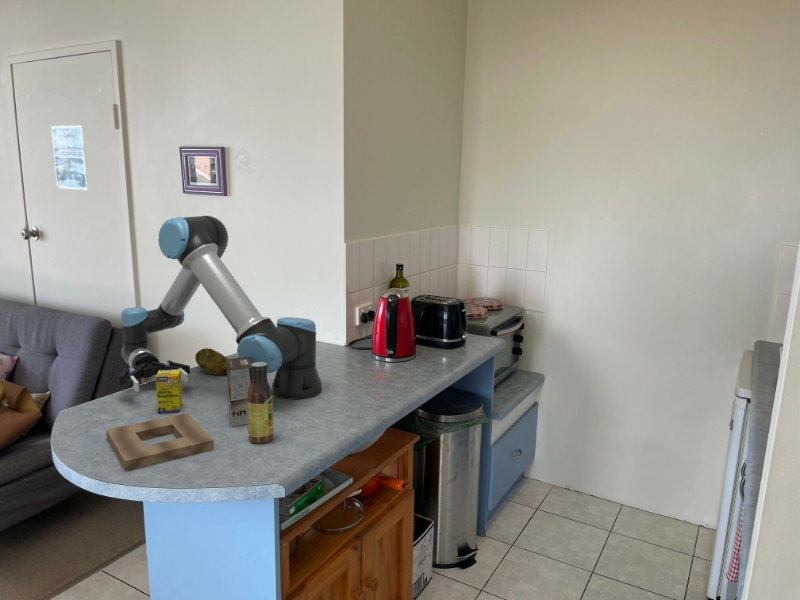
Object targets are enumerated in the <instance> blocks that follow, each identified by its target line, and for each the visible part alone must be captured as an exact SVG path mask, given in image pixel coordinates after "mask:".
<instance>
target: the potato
mask: <svg viewBox="0 0 800 600" xmlns="http://www.w3.org/2000/svg"><path fill="white" fill-rule="evenodd" d="M227 359H229V357H226V356H225V355H223V353H221V352H219V351H217V350H215V349H213V348H208V347H207V348H201V350H198V351H197V352H196V353H195V362H196V364H197V366H199V367H200V368H201V369H202V370H205V371H206V372H207V373H208V374H210V375H214V376H223V375H227Z"/></svg>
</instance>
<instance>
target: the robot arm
mask: <svg viewBox="0 0 800 600" xmlns="http://www.w3.org/2000/svg"><path fill="white" fill-rule="evenodd" d="M158 232H159V233H158V246H159V249H160V251H161V253H162V255H164V257H166V258H167V259H171V260H177V261H178V263H179V264H180V265H181V266H182V267H181V269H180V271H179V272H178V274H177V276H176V278H175V279H174V281H173V282H172V284H171V286H170V288H169V289H168V291H167V292H166V294H165V295H164V298H163V299H162V301H161V303H160V304H159V305H158V306H157V308H155V309H150V310H147V309H146V308H145V307H141V306H133V307H127V308H125V309H122V312H121V328H122V329H121V330H122V337H123V339H122V340H123V343H122V345H123V346H122V347H121V351H120V352H121V357H122V359H123V361H124V362H125V363H126V364H127V365H128V366H125V367H124V369H123V371H122V372H121V373H120V375H118V379H117V380H118V386H124V385H125V386H126V387H125V388H131V387H132V388H133V390H134V392H137V393H138V392H140V383H139V379H143V378H144V379H146V378H147V379H148V378H152V377H153V376H156V375H157V373H158V371H159V370H178V369H180V370H181V381H182V382H184V383H185V384H189V375H190V374H191V366H190V365H188V364H184V363H178V362H176V361H175V362H174V361H172V360H169V359H168V360H167V361H166V363H164V362H160V361H159V359H158V357H156V355H154V354H153V353H152V352H151V351H150V348H149V335H150V334H153V333H157V332H161V331H164V330H169V329H174V328H175V327H178V326H180V325H182V324H183V322H184V320H185V311H184V310H185V308H187V306H188V304H189V303H190V301H191V300H192V297H193V296H194V295H195V293H196V292H197V290H198V289H199V287H200V286H201V285H202V287H203V288H204V290H205V291H206V293H207V294H208V295H209V297H210V298H211V299H212V301H213V303H214V304H215V305H216V306H217V308H218V310H220V312H221V313H222V315H223V317H224V318H225V319H226V320H227V322H228V323H229V324H230V326H231V328H232V329H233V330H234V332H235V333H236V338H235V342H236V344H237V348H236V353H238V354H237V358H242V357H250V360H251V362H252V363H255V362H265V363H267V374H271V373H274V372H275V374H274V378H273V380H272V381H273V382H272V385H271V391H272V393H273V395H274V396H275V397H278V398H281V399H286V400H287V399H288V400H303V399H309V398H312V397H315V396H317V395H319V394H320V393H321V392H322V380H321V378H320V375H319V373H318V369H317V364H316V360H317V358H316V357H317V354H316V353H317V352H316V351H317V329H316V323H315V321H314V320H312V319H309V318H304V317H303V318H301V317H279V318H278V319H277V320H276V324H275V323H274V321H273V320H272V319H271V318H270V317H267V316H263V315H261V313H260V312H259V310H258V309H257V307H256V306H255V305H254V303H253V302H252V301H251V299H250V298H249V296H248V295H247V293H245V291H244V289H243V288H242V287H241V286H240V284H239V283H238V282H237V280H236V279H235V276H233V275H232V273H231V272H230V270H229V269H228V267H227V266H226V265H225V264H224V262H223V261H222V260H221V258H222V257H223V255H224V253H225V252H226V250H227V246H228V243H229V233H228V230H227V228H226V226H225V224H224V223H223V222H222V221H221V220H220V219H218V218H217V217H214V216H211V215H199V216H186V217H185V216H184V217H182V216H178V217H175V218H174V217H173V218H169V219H166V220H165V221H164V222H163V223H162V225H161V227H160V229H159V230H158Z"/></svg>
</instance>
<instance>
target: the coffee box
mask: <svg viewBox="0 0 800 600" xmlns="http://www.w3.org/2000/svg"><path fill="white" fill-rule="evenodd" d="M251 364H252V362H251V360H250V357H242V358H238V357H234V358H228V359H227V374H226V375H227V403H228V404H227V407H228V408H227V411H228V412H227V413H228V414H227V415H228V417H229V421H230V422H229V423H230V425H231V427H235V426H244V425H248V407H247V401H248V394H247V393H248V389H249V387H250V385H251V383H252V371H251Z"/></svg>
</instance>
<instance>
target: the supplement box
mask: <svg viewBox="0 0 800 600" xmlns="http://www.w3.org/2000/svg"><path fill="white" fill-rule="evenodd" d="M155 386H156V387H155V388H156V406H157V410H156V411H157V414H168V413H169V414H170V413H180V412H181V410H182V406H183V392H182V391H183V389H182V387H183V386H182V379H181V370H180V369H178V370H159V371H158V373H157V374H156V375H155Z"/></svg>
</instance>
